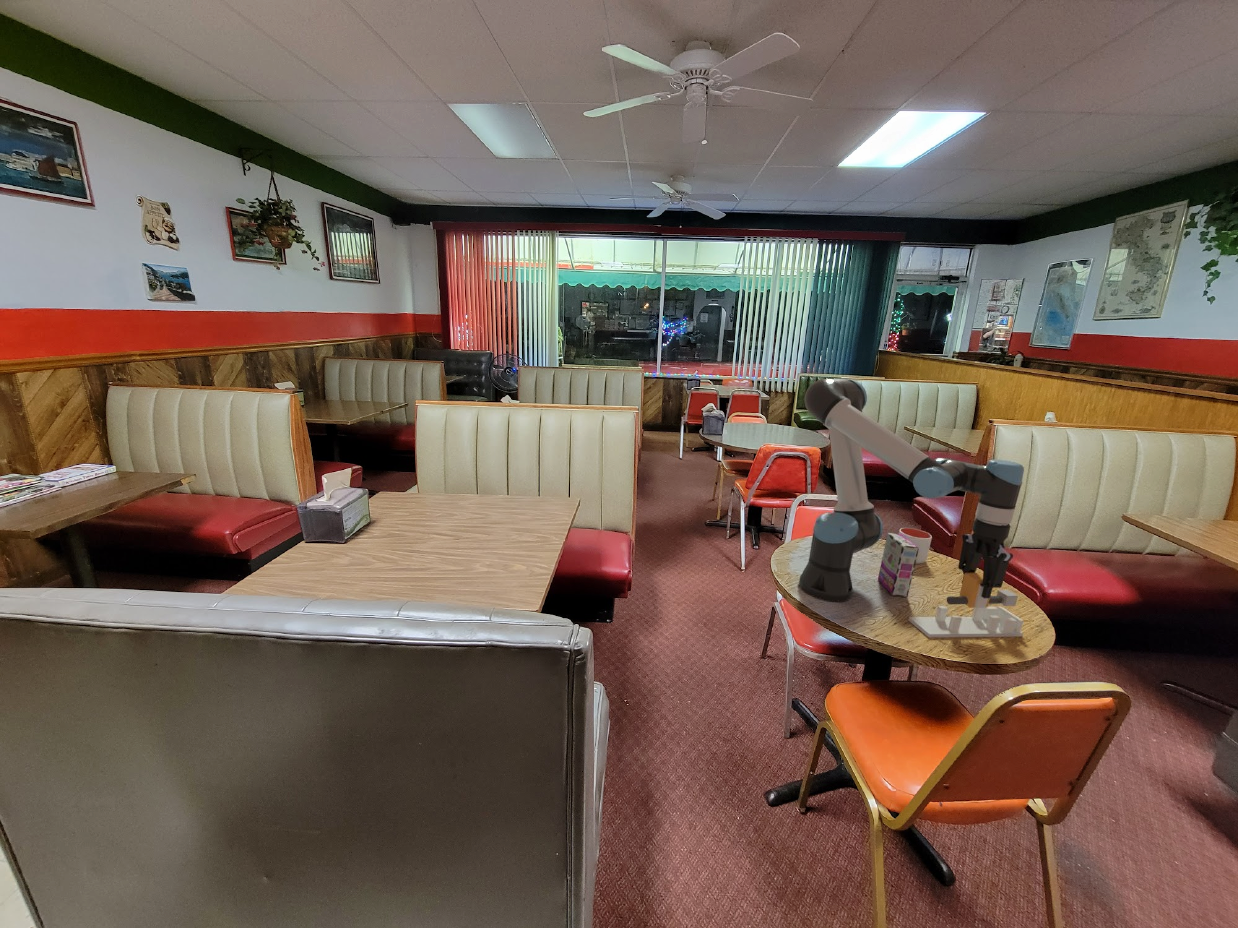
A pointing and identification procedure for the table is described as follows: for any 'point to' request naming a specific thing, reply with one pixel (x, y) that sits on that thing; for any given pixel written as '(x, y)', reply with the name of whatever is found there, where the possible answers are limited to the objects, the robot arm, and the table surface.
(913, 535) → the cup
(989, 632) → the clip rail
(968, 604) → the orange block with rod
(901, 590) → the candy bar box
